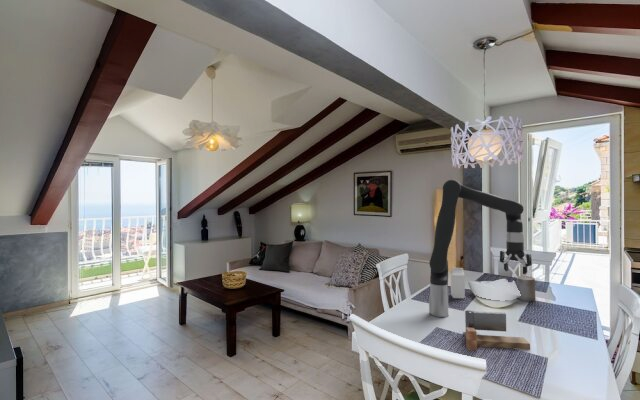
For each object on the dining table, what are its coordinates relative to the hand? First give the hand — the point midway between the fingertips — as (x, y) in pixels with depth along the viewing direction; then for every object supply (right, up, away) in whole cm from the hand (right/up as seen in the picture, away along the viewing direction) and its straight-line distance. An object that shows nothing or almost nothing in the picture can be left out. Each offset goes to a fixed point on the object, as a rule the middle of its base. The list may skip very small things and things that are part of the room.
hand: (515, 272), depth 160 cm
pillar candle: (+30, -26, +38) cm, 55 cm away
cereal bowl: (+15, -26, +48) cm, 56 cm away
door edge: (-23, -27, -20) cm, 40 cm away
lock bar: (-23, -26, -14) cm, 37 cm away
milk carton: (-10, -26, +44) cm, 53 cm away
